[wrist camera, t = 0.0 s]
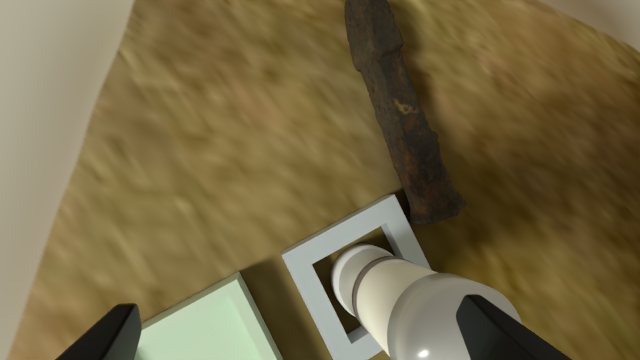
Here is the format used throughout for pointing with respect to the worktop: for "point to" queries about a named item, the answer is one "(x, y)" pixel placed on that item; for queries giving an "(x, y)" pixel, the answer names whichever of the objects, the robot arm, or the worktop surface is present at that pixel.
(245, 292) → the parts tray
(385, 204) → the rectangular open frame
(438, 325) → the mushroom-shaped knob
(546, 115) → the worktop surface
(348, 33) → the hand tool
